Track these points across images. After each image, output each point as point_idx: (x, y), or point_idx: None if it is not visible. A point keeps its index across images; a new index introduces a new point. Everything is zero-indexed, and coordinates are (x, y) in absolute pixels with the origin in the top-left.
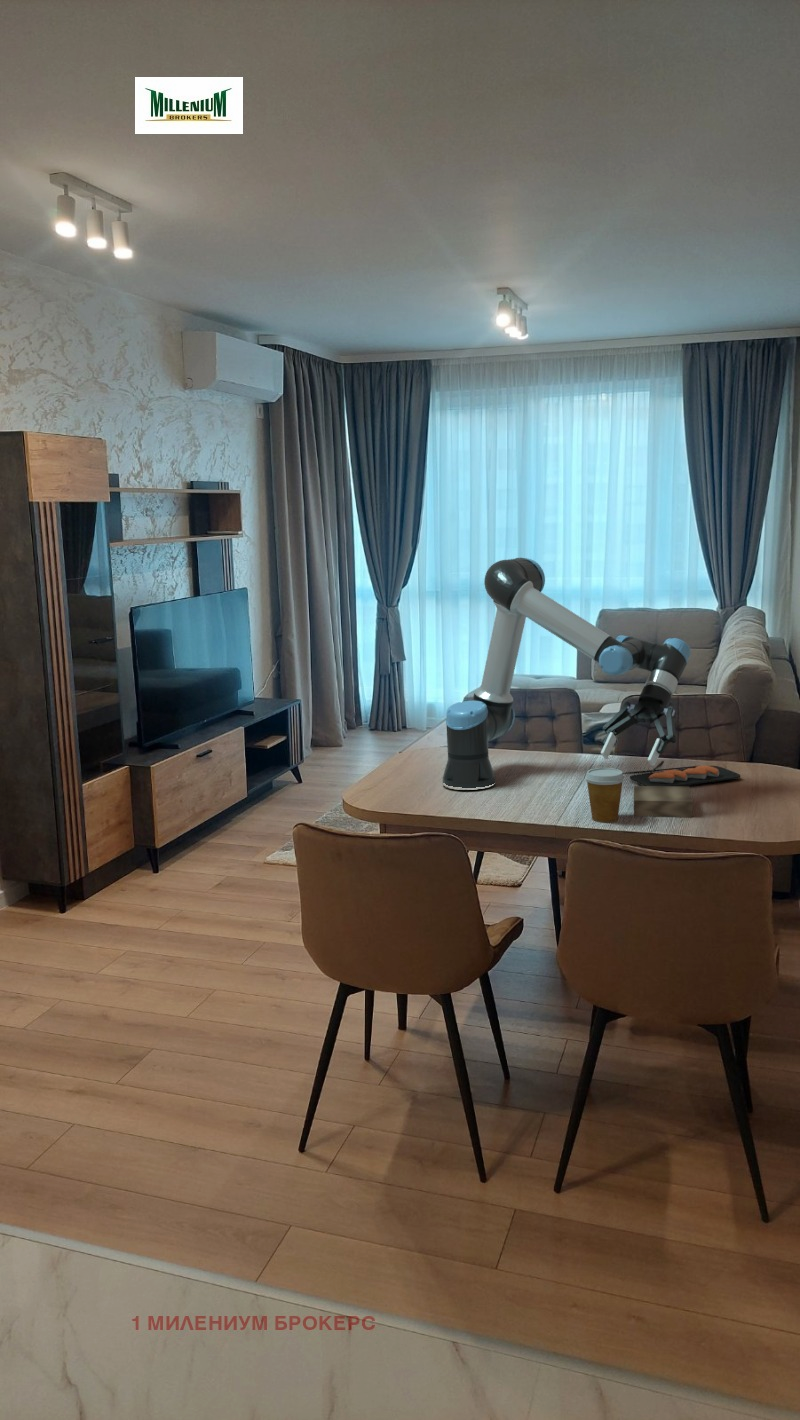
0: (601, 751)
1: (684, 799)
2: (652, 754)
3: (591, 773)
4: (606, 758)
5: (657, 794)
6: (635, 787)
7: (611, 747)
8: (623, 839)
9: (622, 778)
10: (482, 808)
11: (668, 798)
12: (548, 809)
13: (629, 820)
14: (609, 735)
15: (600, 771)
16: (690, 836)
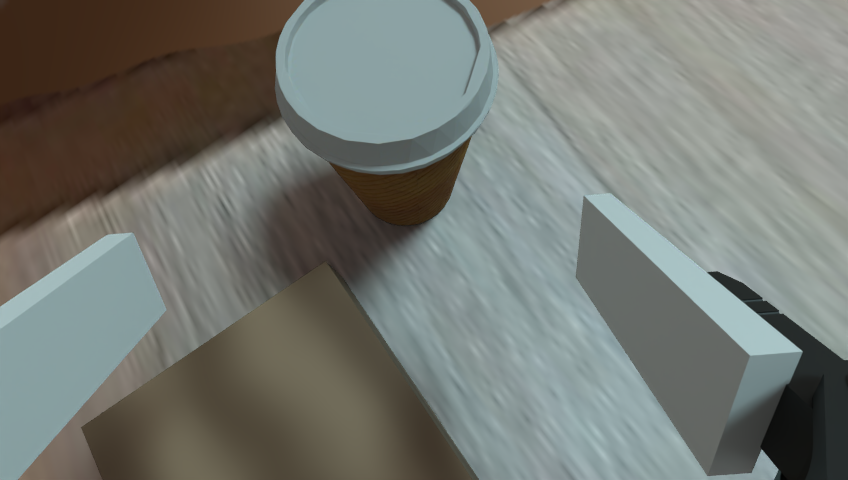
0: (615, 200)
1: (128, 435)
2: (64, 265)
3: (443, 14)
4: (579, 269)
5: (286, 428)
6: (460, 478)
7: (626, 334)
8: (235, 63)
9: (282, 100)
10: (809, 14)
11: (205, 397)
12: (642, 141)
13: (325, 223)
14: (739, 312)
15: (431, 72)
16: (64, 210)
